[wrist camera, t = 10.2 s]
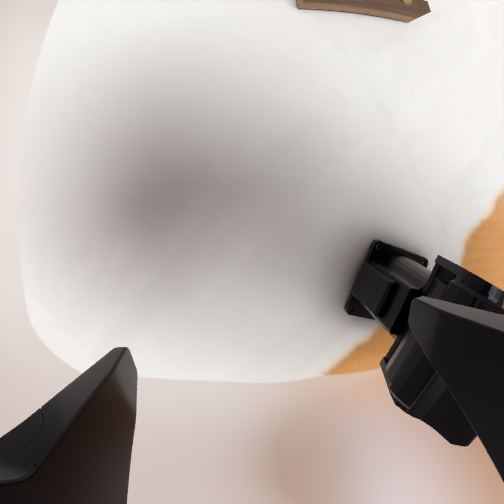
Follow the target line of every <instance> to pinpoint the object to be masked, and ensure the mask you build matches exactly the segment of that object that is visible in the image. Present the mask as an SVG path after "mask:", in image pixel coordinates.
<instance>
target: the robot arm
mask: <svg viewBox="0 0 504 504" xmlns="http://www.w3.org/2000/svg"><path fill="white" fill-rule="evenodd" d="M378 244H379V247H378V248H377V249H376V246H377V245H378ZM435 262H436V264H435V266H434V268H433V270H432V271H430V270H429V269H427V265H428V260H427V259H426V258H424V257H422V256H420V255H417V254H415V253H412V252H409V251H407V250H404V249H402V248H399V247H396V246H394V245H391V244H388V243H386V242H383V241H380V240H374V241H373V242H372V244H371V247H370V249H369V252H368V254H367V257H366V259H365V261H364V263H363V265H362V267H361V269H360V272H359V274H358V277H357V279H356V281H355V284H354V286H353V288H352V291H351V294H350V297H349V299H348V301H347V303H346V305H345V311H346V312H347V314H349V315H353V316H358V317H363V318H369V319H374V320H377V321H378V322H379V323H380V324H381V325H382V326H383V328H384V329H385V330H386V331H387V332H388V333H389V334H390V335H391V336H392V337H393V338H394V339H395V342H394V343H393V345H392V347H391V348H390V350H389V352H388V353H387V355H386V356H385V357H383V359H382V360H381V362H380V365H381V368H382V371H383V374H384V377H385V380H386V383H387V386H388V389H389V392H390V395H391V397H392V399H393V400H394V403H395V405H396V406H398V407H400V408H401V409H402V410H403V411H404V412H406V413H407V414H409V415H411V416H412V417H415V418H417V419H420V420H422V421H423V422H425V423H426V424H428V425H429V426H431V427H432V428H433V429H435V430H436V431H437V432H438V433H439V434H441V435H442V436H443V437H444V438H445V439H446V440H447V441H448V442H449V443H451V444H454V445H459V446H469V445H470V444H471V442H472V441H473V440H474V439H475V438H476V437H477V436H478V437H479V439H480V440H481V442H482V444H483V445H484V447H485V448H486V451H487V453H488V454H489V456H490V458H491V460H492V461H493V463H494V465H495V467H496V469H497V471H498V472H499V474H500V476H501V478H502V480H503V482H504V291H502V290H500V289H499V288H497V287H495V286H494V285H492V284H490V283H489V282H487V281H485V280H484V279H482V278H480V277H478V276H477V275H475V274H473V273H471V272H469V271H468V270H466V269H464V268H462V267H460V266H458V265H457V264H455V263H453V262H451V261H449V260H447V259H445V258H443V257H441V256H439V255H438V256H437V258H436V260H435ZM422 263H423V264H422ZM351 307H353V308H352V309H351V310H349V309H350V308H351ZM136 399H137V369H136V366H135V364H134V361H133V358H132V355H131V353H130V350H129V349H128V348H127V347H117V348H114V349H112V350H111V351H110V352H109V353H108V354H106V355H105V356H104V357H103V358H101V359H100V360H99V361H98V362H96V363H95V364H94V365H93V366H91V367H90V368H89V369H88V370H86V371H85V372H84V373H83V374H81V375H80V376H79V377H78V378H76V379H75V380H74V381H73V382H72V383H70V384H69V385H68V386H67V387H65V388H64V389H63V390H62V391H60V392H59V393H58V394H57V395H55V396H54V397H53V398H52V399H51V400H49V401H48V402H47V403H46V404H44V405H43V406H42V407H41V409H38V410H37V411H36V412H35V413H33V414H32V415H31V416H30V417H28V418H27V419H26V420H25V421H24V422H22V423H21V424H19V425H18V426H16V427H15V428H14V429H12V430H11V431H9V432H8V433H7V434H5V435H4V436H2V437H1V438H0V504H127V493H128V482H129V472H130V462H131V453H132V445H133V437H134V430H135V422H136V401H137V400H136Z"/></svg>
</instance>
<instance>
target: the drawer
mask: <svg viewBox="0 0 504 504" xmlns="http://www.w3.org/2000/svg"><path fill="white" fill-rule="evenodd" d="M297 4H298V8H303V9H322V10H335V11H345V12H353V13H361V14H368V15H374V16H380V17H386V18H391V19H396V20H401V21H405V22H410V21H412V20H414V19H416V18H418V17H421V16H423V15H425V14H427V13H429V12H431V11H430V8H429V5H428V2H427V1H424V0H297Z"/></svg>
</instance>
